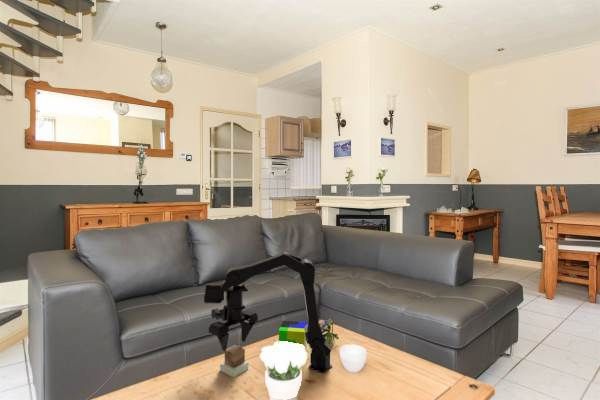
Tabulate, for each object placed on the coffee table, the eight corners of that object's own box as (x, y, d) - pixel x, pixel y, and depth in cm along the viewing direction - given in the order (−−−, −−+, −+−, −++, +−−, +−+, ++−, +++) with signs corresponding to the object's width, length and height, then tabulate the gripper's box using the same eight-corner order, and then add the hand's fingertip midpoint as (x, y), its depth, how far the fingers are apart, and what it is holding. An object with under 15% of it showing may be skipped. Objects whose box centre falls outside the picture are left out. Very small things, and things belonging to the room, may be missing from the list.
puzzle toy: (306, 345, 151) (306, 322, 150) (303, 357, 141) (304, 332, 141) (282, 344, 152) (282, 320, 151) (278, 355, 142) (278, 330, 142)
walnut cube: (244, 362, 131) (244, 348, 131) (234, 368, 127) (234, 354, 127) (234, 358, 134) (235, 344, 134) (224, 363, 130) (224, 349, 130)
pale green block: (248, 369, 131) (248, 362, 131) (233, 377, 126) (233, 370, 126) (234, 362, 136) (234, 356, 135) (220, 370, 130) (220, 363, 130)
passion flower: (316, 352, 157) (314, 323, 163) (341, 349, 155) (338, 320, 162) (312, 347, 147) (309, 317, 154) (338, 344, 146) (335, 314, 152)
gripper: (238, 292, 142) (237, 331, 142) (198, 304, 127) (198, 348, 127) (259, 298, 135) (258, 339, 136) (220, 312, 120) (219, 358, 121)
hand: (234, 346), depth 130 cm, fingers open, 9 cm apart
